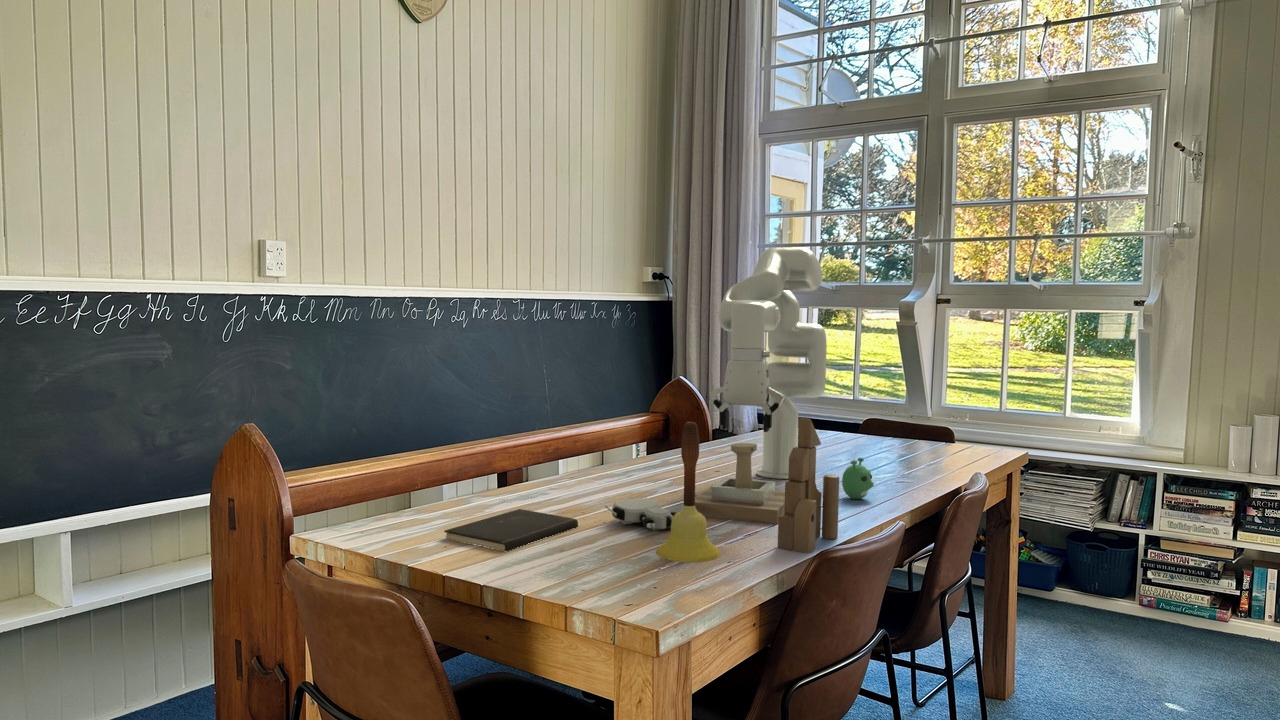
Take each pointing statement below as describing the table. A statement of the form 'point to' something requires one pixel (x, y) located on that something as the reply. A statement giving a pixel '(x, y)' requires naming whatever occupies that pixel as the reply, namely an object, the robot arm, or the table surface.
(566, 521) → the hardcover book
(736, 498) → the collar
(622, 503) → the robot toy
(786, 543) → the wooden toy
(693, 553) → the handbell
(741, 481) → the handle
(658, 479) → the table surface
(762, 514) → the board
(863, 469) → the alien toy
